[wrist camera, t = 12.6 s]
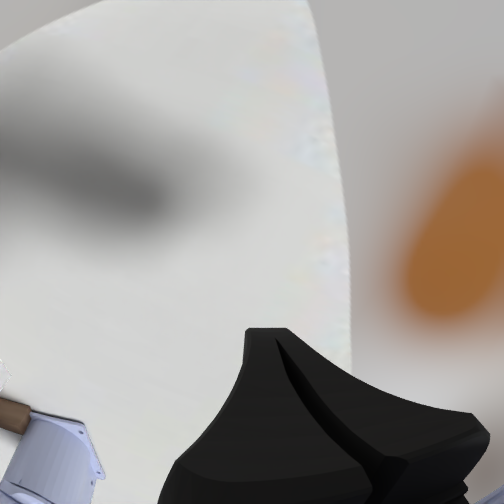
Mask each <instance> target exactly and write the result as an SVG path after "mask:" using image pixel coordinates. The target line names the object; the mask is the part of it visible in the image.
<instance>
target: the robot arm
mask: <svg viewBox="0 0 504 504" xmlns="http://www.w3.org/2000/svg"><path fill="white" fill-rule="evenodd" d="M30 417H31V421H30V423H29V425H28V427H27V429H26V431H25V433H24V435H23V436H22V438H21V440H20V442H19V444H18V446H17V448H16V450H15V453H14V455H13V457H12V459H11V461H10V463H9V465H8V468H7V470H6V472H5V474H4V476H3V479H2V481H1V482H0V504H91V501H92V497H93V492H94V488H95V484H96V479H102V480H103V479H105V474H104V472H103V470H102V467H101V465H100V463H99V460H98V458H97V456H96V453H95V451H94V449H93V446H92V444H91V441H90V438H89V436H88V433H87V431H86V428H85V426H84V425H83V424H81V423H78V422H72V421H68V420H63V419H58V418H54V417H50V416H46V415H42V414H38V413H34V412H30ZM489 442H490V433H489V432H488V431H487V430H486V429H485V428H484V426H483V425H482V424H481V423H480V422H479V421H478V420H477V418H476V417H475V416H474V415H473V414H472V413H465V412H458V411H451V410H444V409H439V408H434V407H430V406H426V405H422V404H418V403H415V402H412V401H408V400H405V399H402V398H400V397H397V396H394V395H392V394H389V393H386V392H384V391H381V390H379V389H377V388H375V387H373V386H371V385H369V384H367V383H365V382H363V381H361V380H359V379H357V378H355V377H353V376H352V375H350V374H348V373H347V372H345V371H344V370H342V369H340V368H339V367H337V366H336V365H334V364H333V363H331V362H330V361H329V360H327V359H326V358H324V357H323V356H322V355H320V354H319V353H318V352H316V351H315V350H314V349H312V348H311V347H310V346H309V345H307V344H306V343H305V342H304V341H302V340H301V339H300V338H299V337H297V336H296V335H295V334H294V333H292V332H291V331H290V330H289V329H287V328H248V329H247V330H246V331H245V340H244V352H243V364H242V367H241V370H240V372H239V375H238V378H237V380H236V382H235V385H234V387H233V389H232V391H231V393H230V395H229V396H228V398H227V400H226V402H225V403H224V405H223V406H222V408H221V410H220V411H219V413H218V414H217V416H216V417H215V418H214V420H213V421H212V422H211V424H210V425H209V426H208V427H207V428H206V430H205V431H204V432H203V433H202V435H201V436H200V437H199V438H198V439H197V440H196V441H195V442H194V443H193V444H192V445H191V446H190V447H189V448H188V449H187V450H186V451H185V452H184V453H183V454H182V455H181V456H180V457H179V458H178V459H177V460H175V462H174V464H173V466H172V468H171V470H170V472H169V474H168V476H167V479H166V481H165V483H164V485H163V488H162V490H161V493H160V496H159V499H158V503H157V504H469V503H468V501H467V499H466V498H465V496H464V494H465V493H466V492H467V491H468V487H467V486H466V484H465V483H464V481H463V480H464V479H465V477H467V475H468V474H469V473H470V472H471V470H472V469H473V468H474V467H475V465H476V464H477V463H478V461H479V460H480V459H481V457H482V456H483V454H484V453H485V451H486V449H487V447H488V445H489ZM474 504H504V485H502V486H501V487H499V488H498V489H496V490H495V491H493V492H492V493H490V494H489V495H487V496H486V497H484V498H483V499H481V500H479V501H478V502H476V503H474Z"/></svg>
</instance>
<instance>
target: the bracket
mask: <svg viewBox="0 0 504 504" xmlns="http://www.w3.org/2000/svg"><path fill="white" fill-rule="evenodd" d="M11 376H12V375H11V374H10V372H9V371H8V369H7V368H6V366H5V365H4V363H3V362H2V360H1V359H0V391H1V390H2V388H3V387H4V386H5V384H6V383H7V381H8V380H9V379H10V377H11Z"/></svg>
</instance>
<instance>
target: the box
mask: <svg viewBox="0 0 504 504" xmlns="http://www.w3.org/2000/svg"><path fill="white" fill-rule="evenodd" d="M30 412H32V410H31V408H30V406H27V405H23V404H19V403H16V402H13V401H9V400H6V399H3V398H0V428H3V429H6V430H9V431H12V432H15V433H18V434H21V435H24V433H25V431H26V429H27V427H28V425H29V423H30V421H31V417H30Z"/></svg>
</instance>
